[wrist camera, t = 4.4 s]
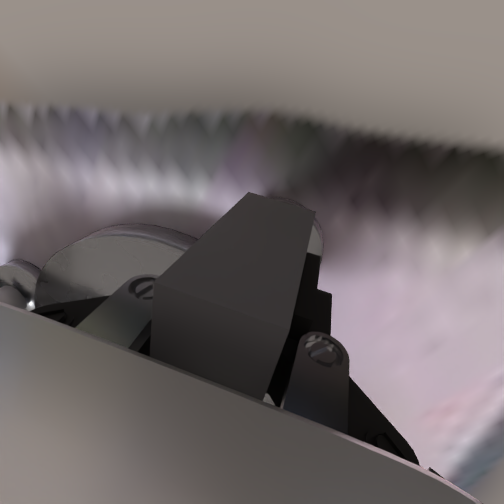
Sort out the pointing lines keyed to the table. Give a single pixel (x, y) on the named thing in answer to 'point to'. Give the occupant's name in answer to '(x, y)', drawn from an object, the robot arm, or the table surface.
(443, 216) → the table surface
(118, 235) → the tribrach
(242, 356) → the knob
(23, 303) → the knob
